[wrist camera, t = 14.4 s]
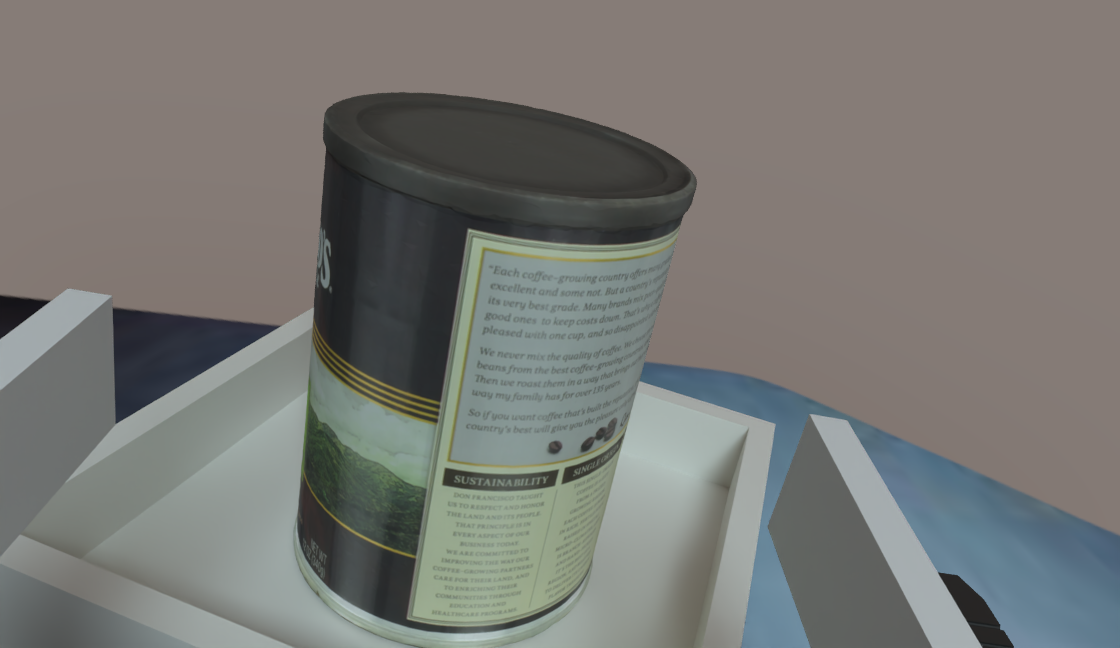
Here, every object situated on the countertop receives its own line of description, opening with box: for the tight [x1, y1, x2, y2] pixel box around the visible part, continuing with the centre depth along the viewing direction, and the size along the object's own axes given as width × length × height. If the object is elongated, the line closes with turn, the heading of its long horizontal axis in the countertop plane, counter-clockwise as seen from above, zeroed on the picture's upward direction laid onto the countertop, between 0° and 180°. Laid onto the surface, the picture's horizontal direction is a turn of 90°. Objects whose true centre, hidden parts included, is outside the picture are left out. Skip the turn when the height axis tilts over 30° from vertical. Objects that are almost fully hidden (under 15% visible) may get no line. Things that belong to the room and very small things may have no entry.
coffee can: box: [293, 92, 697, 648], centre depth 27 cm, size 10×10×14 cm
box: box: [0, 307, 775, 648], centre depth 29 cm, size 20×20×4 cm
